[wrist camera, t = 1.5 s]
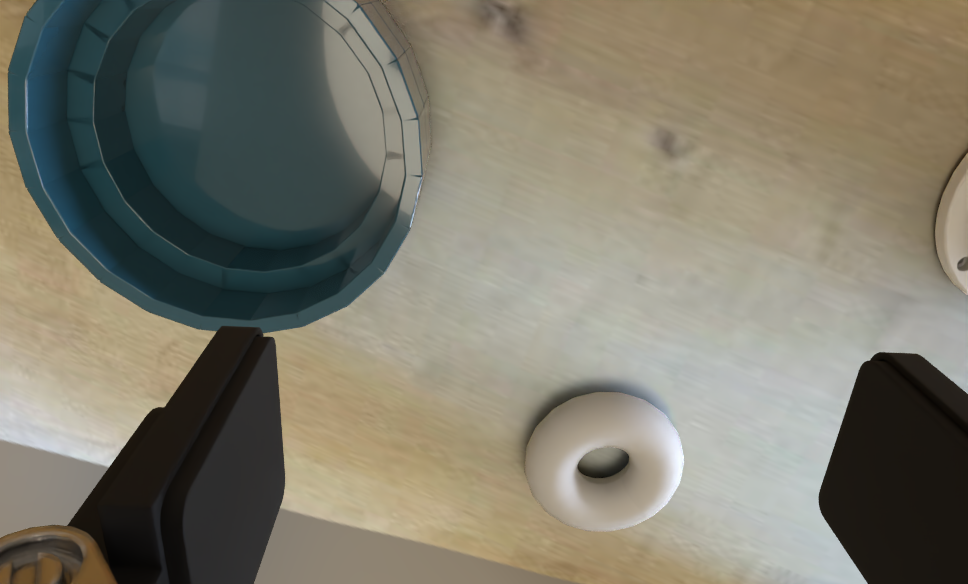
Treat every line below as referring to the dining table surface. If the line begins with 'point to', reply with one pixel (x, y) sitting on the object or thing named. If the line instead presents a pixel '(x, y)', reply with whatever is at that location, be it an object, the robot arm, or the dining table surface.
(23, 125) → the bowl
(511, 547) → the dining table surface
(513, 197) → the dining table surface
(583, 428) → the donut
